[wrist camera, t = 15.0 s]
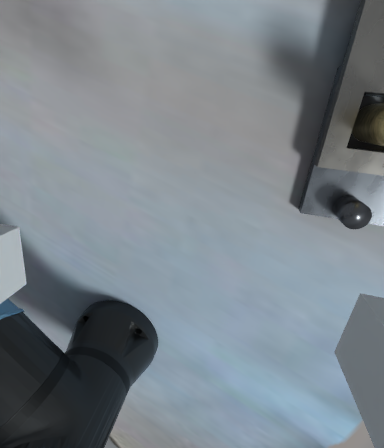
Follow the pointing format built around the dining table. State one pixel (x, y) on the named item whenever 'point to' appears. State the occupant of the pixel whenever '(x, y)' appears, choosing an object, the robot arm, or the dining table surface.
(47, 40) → the dining table surface
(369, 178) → the toggle switch plate
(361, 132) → the toggle switch lever
